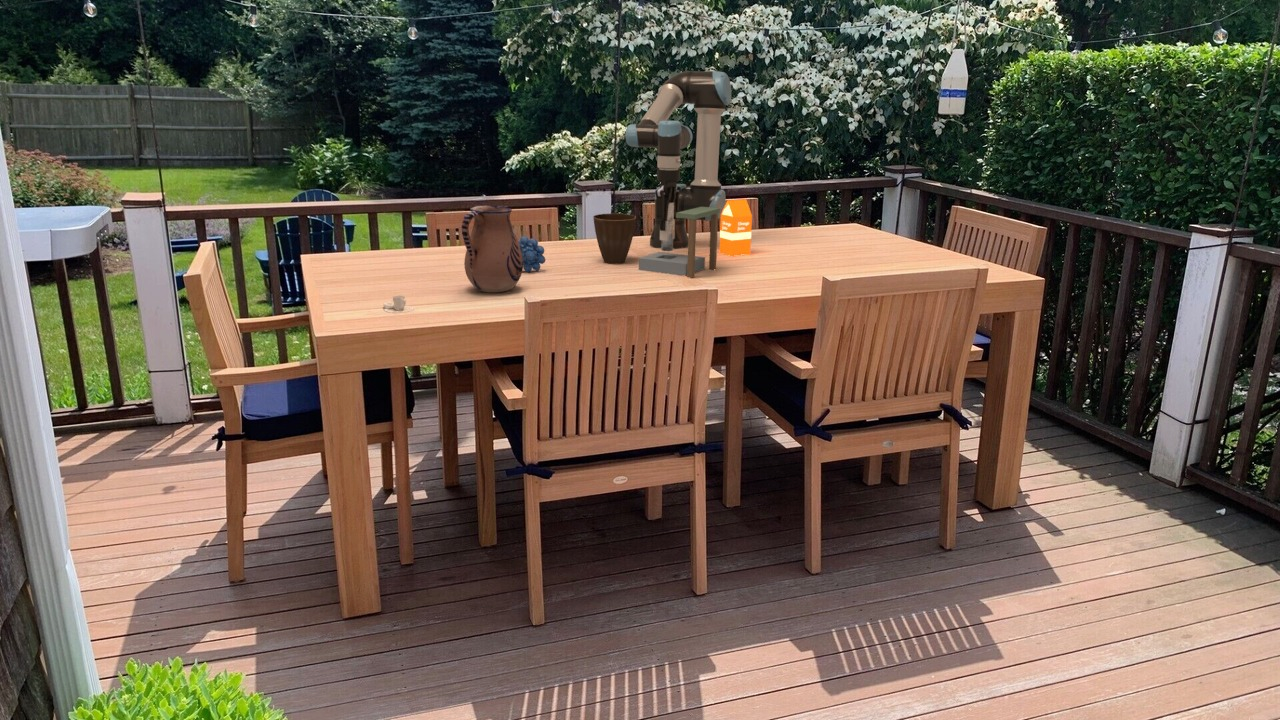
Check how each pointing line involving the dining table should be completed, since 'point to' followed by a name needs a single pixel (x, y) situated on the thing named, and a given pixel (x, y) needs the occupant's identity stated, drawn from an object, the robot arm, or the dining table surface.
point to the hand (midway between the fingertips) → (667, 239)
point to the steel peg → (669, 229)
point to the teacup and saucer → (397, 304)
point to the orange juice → (735, 228)
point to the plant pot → (614, 236)
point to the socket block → (669, 263)
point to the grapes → (531, 254)
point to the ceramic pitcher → (491, 249)
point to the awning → (692, 217)
